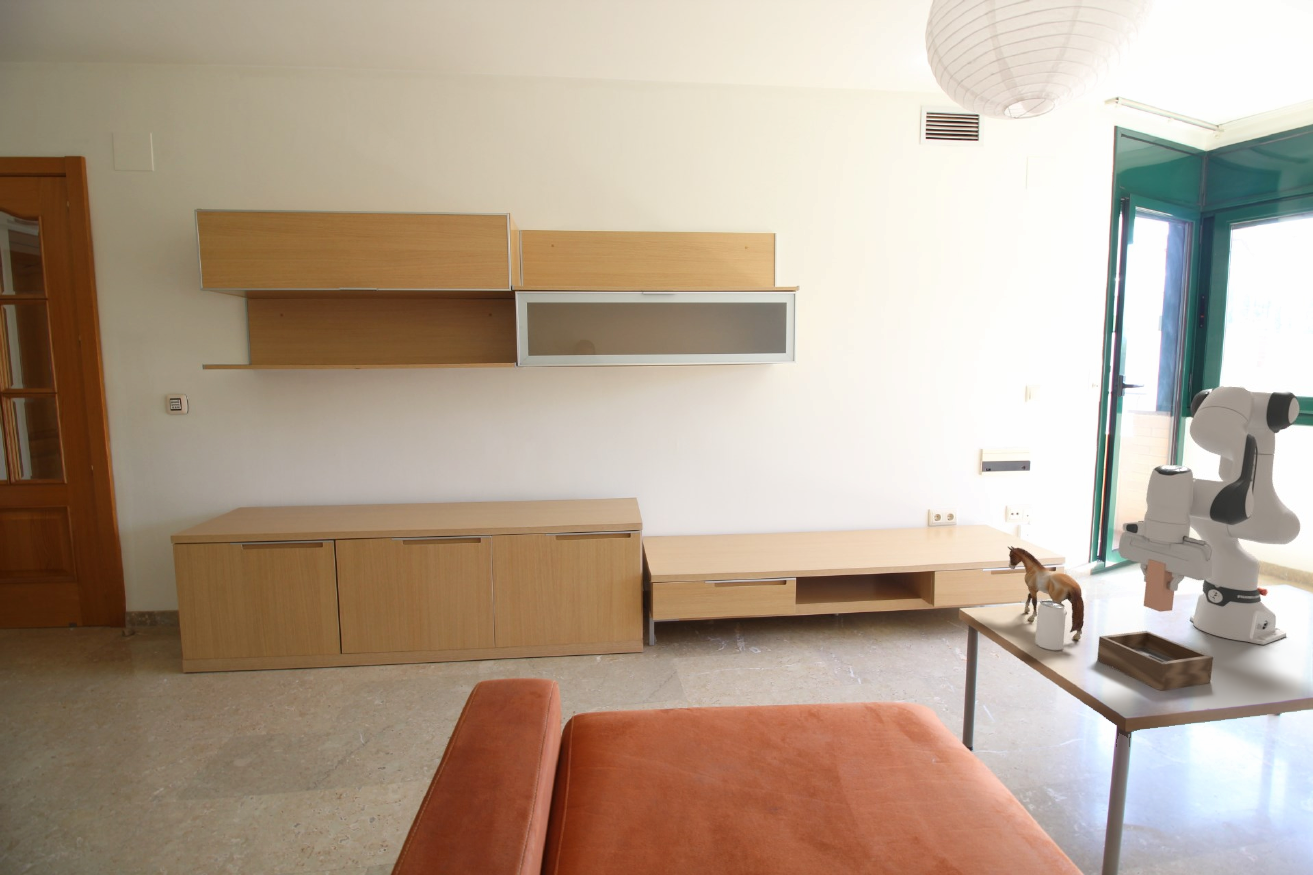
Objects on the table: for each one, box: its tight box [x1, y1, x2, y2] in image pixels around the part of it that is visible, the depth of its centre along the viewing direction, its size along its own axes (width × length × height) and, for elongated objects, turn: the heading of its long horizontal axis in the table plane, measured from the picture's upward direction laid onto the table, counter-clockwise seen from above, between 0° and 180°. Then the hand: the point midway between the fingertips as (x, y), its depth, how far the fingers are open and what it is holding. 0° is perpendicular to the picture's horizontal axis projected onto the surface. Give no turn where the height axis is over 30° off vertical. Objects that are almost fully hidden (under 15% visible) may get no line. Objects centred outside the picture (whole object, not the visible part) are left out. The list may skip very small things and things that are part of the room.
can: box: [1034, 599, 1067, 652], centre depth 172 cm, size 6×6×12 cm
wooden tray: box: [1096, 630, 1214, 691], centre depth 158 cm, size 16×16×6 cm
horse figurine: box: [1007, 546, 1085, 640], centre depth 184 cm, size 31×8×21 cm, turn 5°
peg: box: [1143, 559, 1175, 613], centre depth 156 cm, size 4×4×12 cm
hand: (1160, 586), depth 156 cm, fingers closed on peg, 4 cm apart
